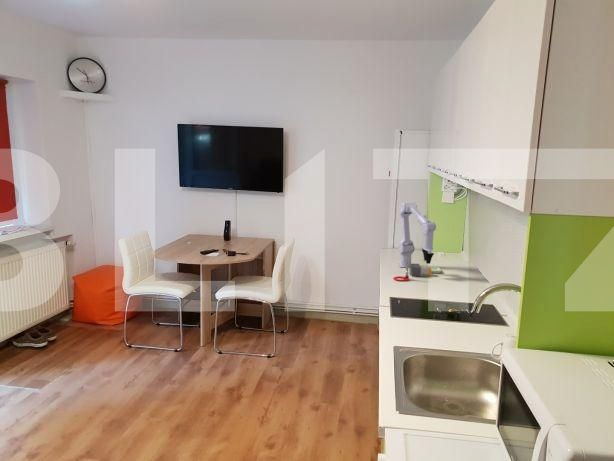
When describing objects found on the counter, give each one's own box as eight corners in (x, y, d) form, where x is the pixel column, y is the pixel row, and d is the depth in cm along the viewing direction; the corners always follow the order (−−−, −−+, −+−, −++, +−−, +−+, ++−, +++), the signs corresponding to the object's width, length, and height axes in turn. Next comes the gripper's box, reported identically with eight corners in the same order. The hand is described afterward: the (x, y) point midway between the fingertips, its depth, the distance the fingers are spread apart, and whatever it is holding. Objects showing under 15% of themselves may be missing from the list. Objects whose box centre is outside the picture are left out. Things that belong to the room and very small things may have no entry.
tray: (411, 269, 292) (411, 266, 292) (438, 269, 291) (438, 266, 290) (413, 272, 283) (413, 270, 282) (441, 273, 281) (441, 270, 281)
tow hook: (394, 282, 264) (409, 281, 264) (394, 261, 262) (409, 261, 262) (392, 278, 273) (407, 277, 272) (392, 258, 271) (407, 257, 270)
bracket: (410, 272, 283) (410, 263, 282) (418, 272, 283) (418, 263, 282) (412, 276, 274) (412, 267, 273) (420, 276, 274) (420, 267, 273)
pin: (409, 273, 281) (409, 267, 280) (429, 274, 280) (430, 267, 279) (410, 275, 277) (410, 268, 276) (430, 276, 276) (431, 269, 275)
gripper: (419, 238, 281) (418, 259, 284) (423, 243, 267) (422, 264, 270) (431, 238, 281) (429, 259, 283) (435, 243, 267) (434, 265, 269)
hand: (427, 261), depth 276 cm, fingers open, 7 cm apart
